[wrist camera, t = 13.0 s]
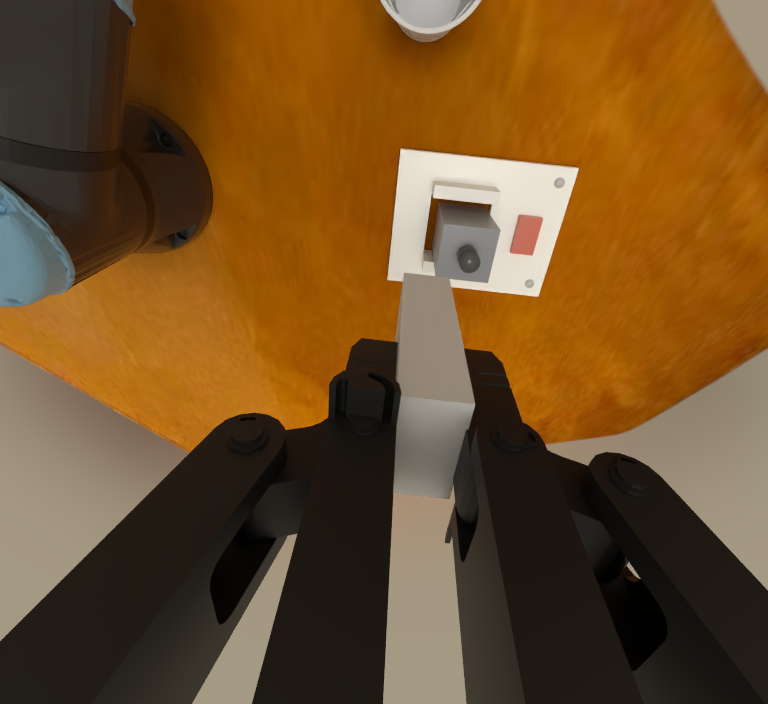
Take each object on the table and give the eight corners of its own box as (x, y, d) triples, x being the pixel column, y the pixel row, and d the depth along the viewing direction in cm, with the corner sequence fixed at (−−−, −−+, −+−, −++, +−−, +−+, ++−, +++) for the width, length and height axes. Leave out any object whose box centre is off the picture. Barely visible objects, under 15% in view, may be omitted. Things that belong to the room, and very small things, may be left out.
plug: (431, 246, 47) (436, 287, 36) (438, 201, 44) (446, 231, 34) (474, 250, 47) (491, 293, 36) (484, 206, 44) (505, 237, 34)
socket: (388, 276, 49) (385, 289, 45) (401, 148, 42) (399, 152, 38) (535, 292, 49) (545, 307, 45) (574, 166, 42) (589, 172, 38)
